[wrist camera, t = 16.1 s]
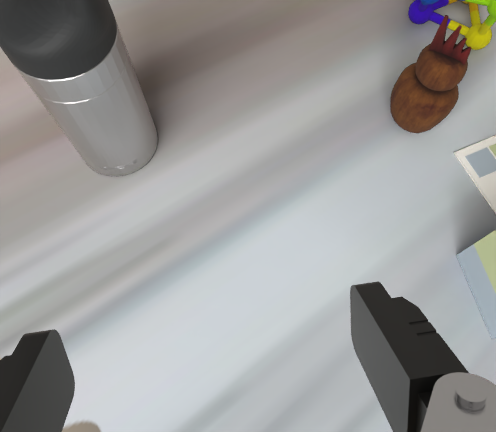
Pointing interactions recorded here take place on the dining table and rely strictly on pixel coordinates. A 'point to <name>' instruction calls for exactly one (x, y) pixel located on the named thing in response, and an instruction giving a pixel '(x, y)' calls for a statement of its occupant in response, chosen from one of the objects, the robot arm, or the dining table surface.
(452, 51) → the wooden figurine
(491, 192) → the page
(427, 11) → the educational toy
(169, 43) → the dining table surface
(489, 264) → the pedestal
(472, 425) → the robot arm
